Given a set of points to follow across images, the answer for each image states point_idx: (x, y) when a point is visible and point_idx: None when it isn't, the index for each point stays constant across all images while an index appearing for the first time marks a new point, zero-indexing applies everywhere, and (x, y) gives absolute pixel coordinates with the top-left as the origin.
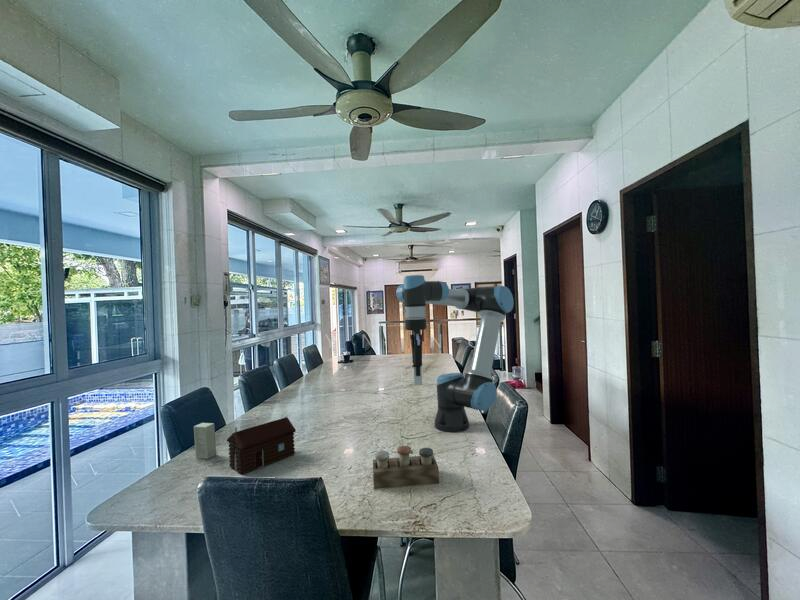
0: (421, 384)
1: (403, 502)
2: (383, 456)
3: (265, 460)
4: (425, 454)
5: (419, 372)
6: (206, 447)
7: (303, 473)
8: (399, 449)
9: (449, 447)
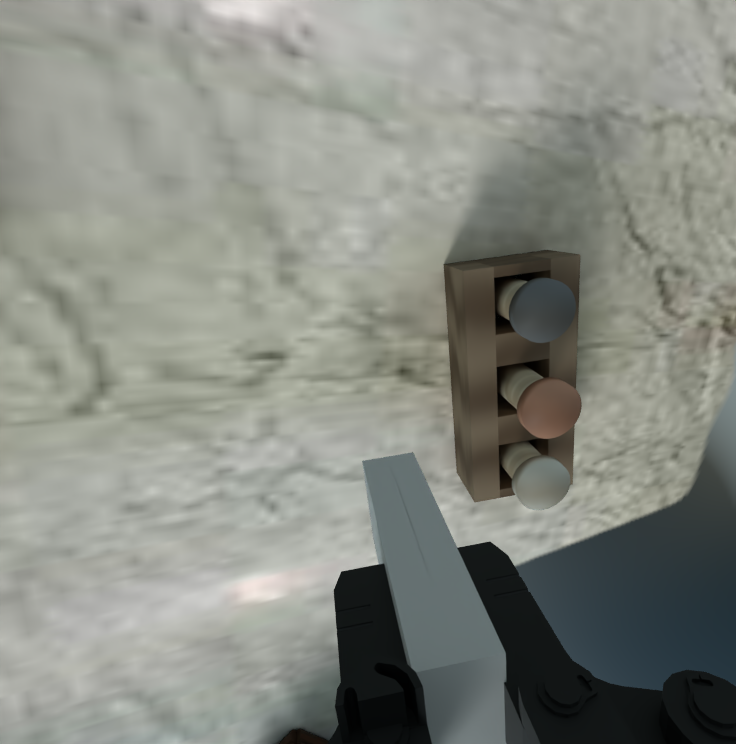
0: (414, 461)
1: (632, 365)
2: (568, 477)
3: None
4: (572, 313)
5: (523, 593)
6: None
7: None
8: (557, 428)
9: (209, 171)
